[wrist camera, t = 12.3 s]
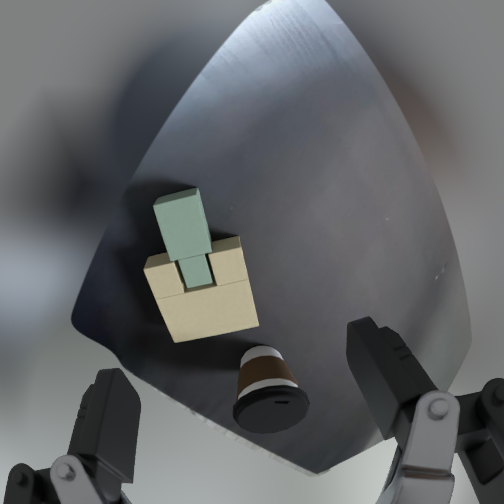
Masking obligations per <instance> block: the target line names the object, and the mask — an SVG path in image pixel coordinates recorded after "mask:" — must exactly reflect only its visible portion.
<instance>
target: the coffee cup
mask: <svg viewBox="0 0 504 504" xmlns="http://www.w3.org/2000/svg"><path fill="white" fill-rule="evenodd" d="M309 404H310V403H309V399H308V397H307V394H306V392H304V391H303V390H301V389H300V388H299V386H298V384H297V382H296V380H295V378H294V376H293V374H292V373H291V371H290V369H289V367H288V365H287V363H286V362H285V361H284V360H283V359H282V357H281V355H280V353H279V352H278V351H276V350H275V349H274V348H272V347H269V346H256V347H253V348H251V349H249V350H248V351H246V353H245V354H244V355H243V357H242V359H241V365H240V370H239V377H238V391H237V402H236V403H235V405H234V406H233V418H234V419H235V421H236V422H237V423H238V424H239V425H240V427H241V428H243V429H245V430H247V431H250V432H254V433H261V434H264V433H275V432H279V431H282V430H286V429H288V428H290V427H292V426H294V425H296V424H298V423H299V422H300V421H301V420H302V419H303V418H304V417H305V416H306V413H307V411H308V407H309Z"/></svg>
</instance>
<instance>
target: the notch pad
mask: <svg viewBox="0 0 504 504" xmlns="http://www.w3.org/2000/svg"><path fill="white" fill-rule="evenodd" d="M211 243H212V252H209V253H208V256H209V259H210V263H211V266H212V270H213V273H212V283H210V284H205V285H200V286H196V287H191V288H187V285H186V283H185V280H184V277H183V274H182V271H181V268H180V265H179V262H178V260H175V261H170V258H169V255H168V252H166V253H162V254H158V255H154V256H149V257H148V259H147V262H146V264H145V267H144V272H145V275H146V277H147V280H148V282H149V285H150V287H151V290H152V292H153V295H154V297H155V300H156V302H157V304H158V307H159V309H160V311H161V314H162V316H163V318H164V321H165V323H166V325H167V327H168V329H169V332H170V334H171V336H172V338H173V340H174V342H175V343H176V342H182V341H188V340H193V339H198V338H204V337H209V336H214V335H219V334H224V333H229V332H233V331H238V330H243V329H247V328H252V327H256V326H259V323H258V319H257V314H256V310H255V306H254V301H253V297H252V292H251V288H250V284H249V279H248V275H247V270H246V266H245V261H244V257H243V253H242V248H241V244H240V239H239V236H236V237H231V238H227V239H222V240H218V241H214V242H211Z"/></svg>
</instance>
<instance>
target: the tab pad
mask: <svg viewBox="0 0 504 504" xmlns="http://www.w3.org/2000/svg"><path fill="white" fill-rule="evenodd" d="M153 208H154V211H155V215H156V218H157V221H158V224H159V228H160V231H161V234H162V237H163V240H164V243H165V246H166V249H167V252H168V255H169V258H170V261H175V260H178V262H179V265H180V268H181V271H182V274H183V277H184V280H185V283H186V285H187V288H191V287H196V286H200V285H205V284H210V283H212V267H211V263H210V260H209V256H208V253H209V252H212V243H211V236H210V233H209V229H208V225H207V221H206V217H205V213H204V209H203V205H202V201H201V197H200V193H199V189H198V187H197V188H193V189H189V190H185V191H181V192H177V193H173V194H169V195H165V196H162V197H158V199H157V200H156V202H155V203H154V205H153Z"/></svg>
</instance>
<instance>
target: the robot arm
mask: <svg viewBox="0 0 504 504" xmlns="http://www.w3.org/2000/svg"><path fill="white" fill-rule="evenodd" d="M346 355H347V361H348V364H349V367H350V370H351V372H352V374H353V376H354V378H355V380H356V382H357V384H358V386H359V388H360V390H361V392H362V394H363V396H364V398H365V400H366V402H367V404H368V406H369V408H370V410H371V412H372V414H373V417H374V419H375V421H376V423H377V425H378V427H379V429H380V431H381V433H382V436H383V438H384V440H387V439H390V438H392V437H395V439H396V441H397V443H398V445H397V448H396V452H395V455H394V458H393V461H392V464H391V467H390V470H389V473H388V476H387V479H386V481H385V484H384V487H383V489H382V492H381V494H380V496H379V498H378V500H377V502H376V504H449V503H450V500H451V496H452V492H453V488H454V482H455V478H454V475H453V474H452V473H451V467H452V462H453V456H454V453H458V455H459V457H460V459H461V461H462V464H463V466H464V468H465V470H466V473H467V475H468V477H469V479H470V482H471V484H472V486H473V489H474V491H475V493H476V496H477V498H478V501H479V503H480V504H504V379H502V378H495V379H492V380H490V381H489V382H487V383H486V384H485V386H484V388H483V389H482V391H480V392H476V393H471V394H467V395H462V396H453V395H452V394H451V393H449V392H446V391H443V390H439V389H438V388H437V387H436V386H435V385H434V384H433V382H432V381H431V379H430V378H429V376H428V375H427V373H426V372H425V370H424V369H423V368H422V366H421V365H420V363H419V362H418V360H417V359H416V358H415V356H414V355H412V352H411V351H410V349H409V348H408V346H407V347H406V344H405V342H404V341H403V340H402V338H401V337H400V336H399V334H398V333H396V332H395V331H393V330H391V329H390V328H388V327H387V326H385V327H382V328H378V327H377V325H376V324H375V322H374V321H373V320H372V318H371V317H369V316H368V317H365V318H362V319H358V320H355V321H352V322H349V323H348V325H347V348H346ZM140 413H141V402H140V398H139V395H138V393H137V392H136V390H135V389H134V387H133V386H132V385H131V383H130V382H129V380H128V379H127V377H126V376H125V374H124V373H123V371H122V370H121V369H120V368H113V369H103V370H99V372H98V374H97V377H96V380H95V383H94V384H91V385H90V386H89V388H88V389H87V391H86V392H85V393H84V395H83V398H82V401H81V404H80V409H79V411H78V415H77V417H78V418H77V419H76V422H75V425H74V429H73V433H72V437H71V441H70V445H69V449H68V452H67V455H63V456H61V457H59V458H57V459H56V460H55V461H54V463H53V464H52V466H51V468H47V469H42V470H36V471H35V470H33V469H32V468H31V467H29V466H28V465H26V464H24V463H20V464H17V465H15V466H14V467H13V468H12V469H11V471H10V473H9V476H8V481H7V486H6V491H5V497H4V503H3V504H132V503H131V502H130V501H129V499H128V498H127V496H126V495H125V493H124V492H123V491H122V490H121V484H122V483H133V475H134V465H135V454H136V445H137V436H138V428H139V419H140Z"/></svg>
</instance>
